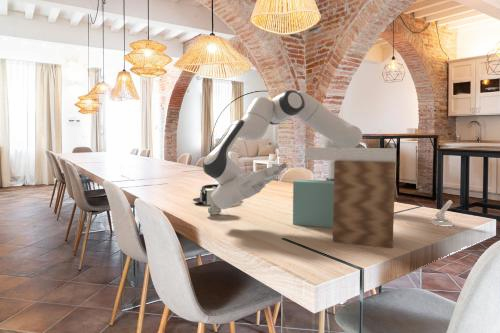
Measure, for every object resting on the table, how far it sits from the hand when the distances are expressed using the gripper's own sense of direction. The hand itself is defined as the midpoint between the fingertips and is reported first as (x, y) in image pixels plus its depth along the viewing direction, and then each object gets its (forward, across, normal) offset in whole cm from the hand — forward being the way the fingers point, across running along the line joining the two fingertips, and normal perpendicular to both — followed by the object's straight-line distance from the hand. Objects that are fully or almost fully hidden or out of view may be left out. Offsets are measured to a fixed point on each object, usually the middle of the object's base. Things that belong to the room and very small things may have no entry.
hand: (282, 165), depth 129 cm
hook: (+35, +35, +47) cm, 68 cm away
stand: (+12, 0, +34) cm, 36 cm away
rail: (+21, 0, +9) cm, 23 cm away
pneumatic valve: (-43, +19, +3) cm, 47 cm away
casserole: (-53, +44, -3) cm, 69 cm away
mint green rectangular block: (-4, +17, +25) cm, 30 cm away
